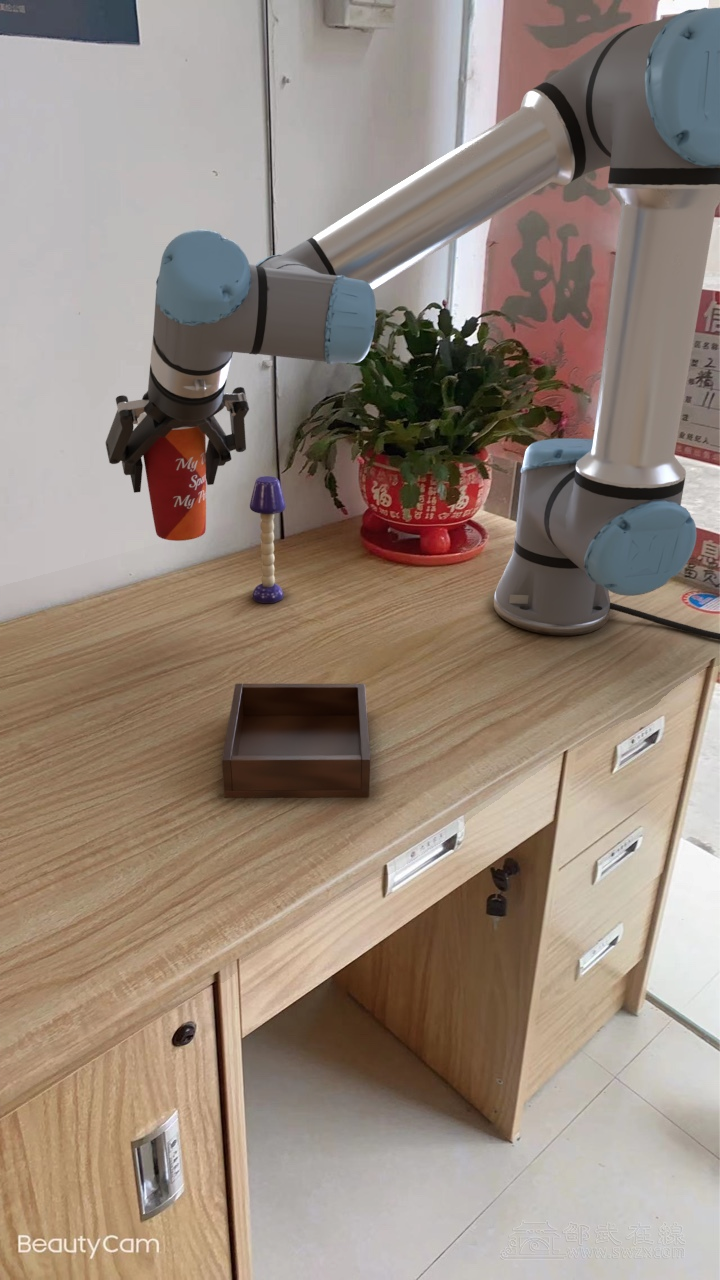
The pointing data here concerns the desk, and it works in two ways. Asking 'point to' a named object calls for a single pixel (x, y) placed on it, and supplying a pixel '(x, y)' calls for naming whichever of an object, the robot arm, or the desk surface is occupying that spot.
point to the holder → (297, 741)
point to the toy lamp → (267, 534)
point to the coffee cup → (177, 483)
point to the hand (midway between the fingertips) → (172, 478)
